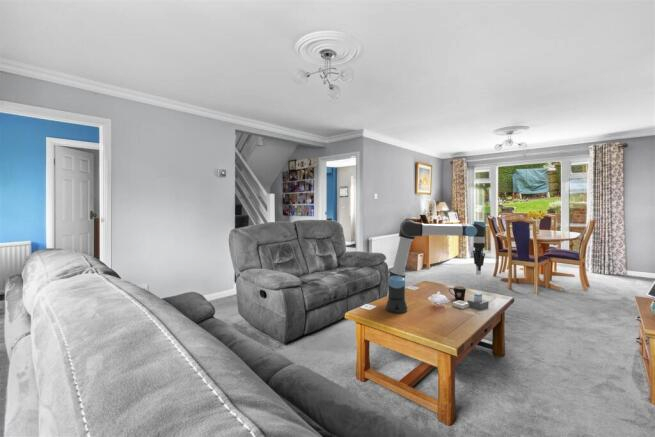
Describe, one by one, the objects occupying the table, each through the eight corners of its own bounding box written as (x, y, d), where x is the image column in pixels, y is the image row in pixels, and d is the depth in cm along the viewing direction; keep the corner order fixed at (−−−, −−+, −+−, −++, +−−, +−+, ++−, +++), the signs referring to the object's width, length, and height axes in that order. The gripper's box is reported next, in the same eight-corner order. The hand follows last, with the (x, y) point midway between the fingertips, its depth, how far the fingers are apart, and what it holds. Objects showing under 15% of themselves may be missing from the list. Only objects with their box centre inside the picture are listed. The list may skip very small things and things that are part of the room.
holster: (452, 306, 229) (452, 302, 229) (459, 304, 234) (459, 300, 234) (462, 310, 223) (462, 305, 223) (469, 307, 227) (469, 303, 227)
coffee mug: (467, 300, 244) (468, 287, 243) (461, 302, 239) (461, 289, 238) (454, 296, 253) (454, 284, 253) (447, 298, 248) (448, 286, 248)
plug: (474, 307, 228) (474, 293, 228) (477, 306, 230) (477, 292, 230) (478, 308, 225) (479, 295, 225) (481, 307, 227) (481, 294, 227)
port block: (467, 306, 229) (467, 299, 229) (475, 304, 235) (475, 297, 234) (480, 310, 221) (480, 303, 221) (488, 308, 226) (488, 301, 226)
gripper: (489, 243, 219) (488, 276, 220) (479, 241, 232) (478, 272, 233) (478, 243, 218) (478, 277, 220) (469, 241, 231) (468, 272, 233)
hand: (478, 274), depth 226 cm, fingers closed
